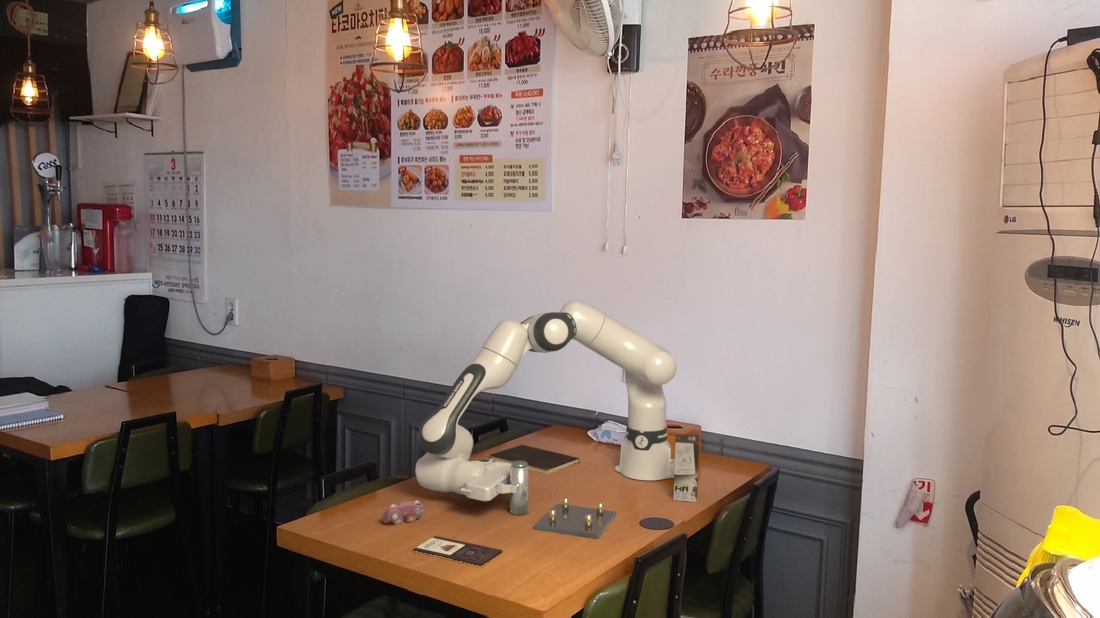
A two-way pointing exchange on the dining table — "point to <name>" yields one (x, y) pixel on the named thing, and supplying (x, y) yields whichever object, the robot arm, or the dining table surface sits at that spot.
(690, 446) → the coffee box
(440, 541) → the chocolate bar
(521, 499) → the canister
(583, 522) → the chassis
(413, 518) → the video game controller
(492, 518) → the dining table surface
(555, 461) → the hardcover book
